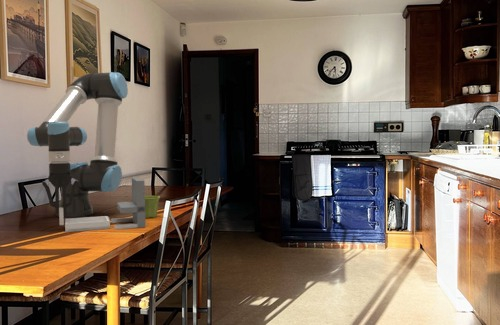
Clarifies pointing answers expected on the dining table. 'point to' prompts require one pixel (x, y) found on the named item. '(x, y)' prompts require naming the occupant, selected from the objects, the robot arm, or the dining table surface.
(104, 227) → the white rectangular slab
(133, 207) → the stand
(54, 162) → the robot arm
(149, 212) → the plant pot
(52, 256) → the dining table surface
